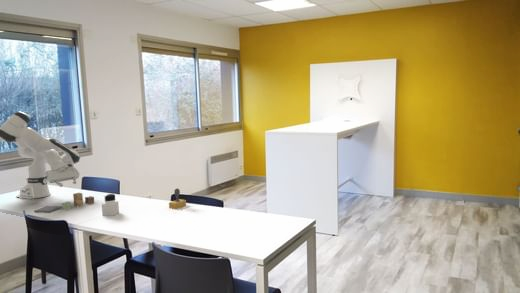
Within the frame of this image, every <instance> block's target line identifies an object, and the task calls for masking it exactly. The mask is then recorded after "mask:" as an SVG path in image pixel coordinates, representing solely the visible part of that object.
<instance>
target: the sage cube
mask: <svg viewBox="0 0 520 293" xmlns="http://www.w3.org/2000/svg"><path fill="white" fill-rule="evenodd" d="M61 206H62V208H61V209H62V210H69V209H72V201H63V202H61Z"/></svg>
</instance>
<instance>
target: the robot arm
mask: <svg viewBox="0 0 520 293" xmlns="http://www.w3.org/2000/svg"><path fill="white" fill-rule="evenodd" d="M30 121H31V118H30V117H29V116H28V114H27V113H25V112H22V111H18V110H17V111H15V112H14V113H13V114H11V115H10V116H9V117H8V118H7V119H6V120H5V122H3V124H2V125H1V126H0V141H1V142H4V143H9V144H10V143H14V144H15V145H16V146H17V154H18V155H19V156H20V157H21V158H26V159H33V161H32V163H30V164H29V166H28V168H27V169H28V170H27V171H28V178H26V183H25V184H24V185H23V186H21V188H20V189H19V190H20V191H19V194H18V195H16V198H17V197H19V198H20V199H29V200H33V199H37V198H44V197H48V196H49V197H50V196H51V192H50V189H49V183H50V184H56V185H58V186H59V187H60V188H61V187H64V186H63V185H64V184H63V183H62V182H65V181H72V184H73V185H76V184H77V181H76V180H77V179H79V177H80V172H79V171H78V169H77V168H76V167H74V165H76V164H77V163H79V162H80V159H81V155H80V154H79V152H78V151H76V150H75V149H73V148H71V147H69V146H67V145H65V144H64V143H62V142H61V141H59V140H57V139H55V138H53V137H50V138H49V137H45V136H43V135H41V133H40V132H38V131H37V130H35V129H34V128H32V127H29V126H28V125H29V124H30V123H31V122H30ZM58 151H60V152H61V153H63V154H62V155H60V154H59V152H58ZM47 164H48V166H50V170H47ZM19 198H18V199H19Z"/></svg>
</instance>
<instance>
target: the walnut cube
mask: <svg viewBox="0 0 520 293" xmlns="http://www.w3.org/2000/svg"><path fill="white" fill-rule="evenodd" d="M84 202H85V204H87V203H88V205H90V204H94V203H95V197H94V196H92V195H90V196H86V197H84Z"/></svg>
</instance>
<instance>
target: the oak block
mask: <svg viewBox="0 0 520 293" xmlns="http://www.w3.org/2000/svg"><path fill="white" fill-rule="evenodd" d="M83 196H84V195H83V193H82V192H75V193H73V194H72V197H73V206H74V207H77V206H78V207H82V206H84V197H83ZM81 205H82V206H81Z"/></svg>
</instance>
